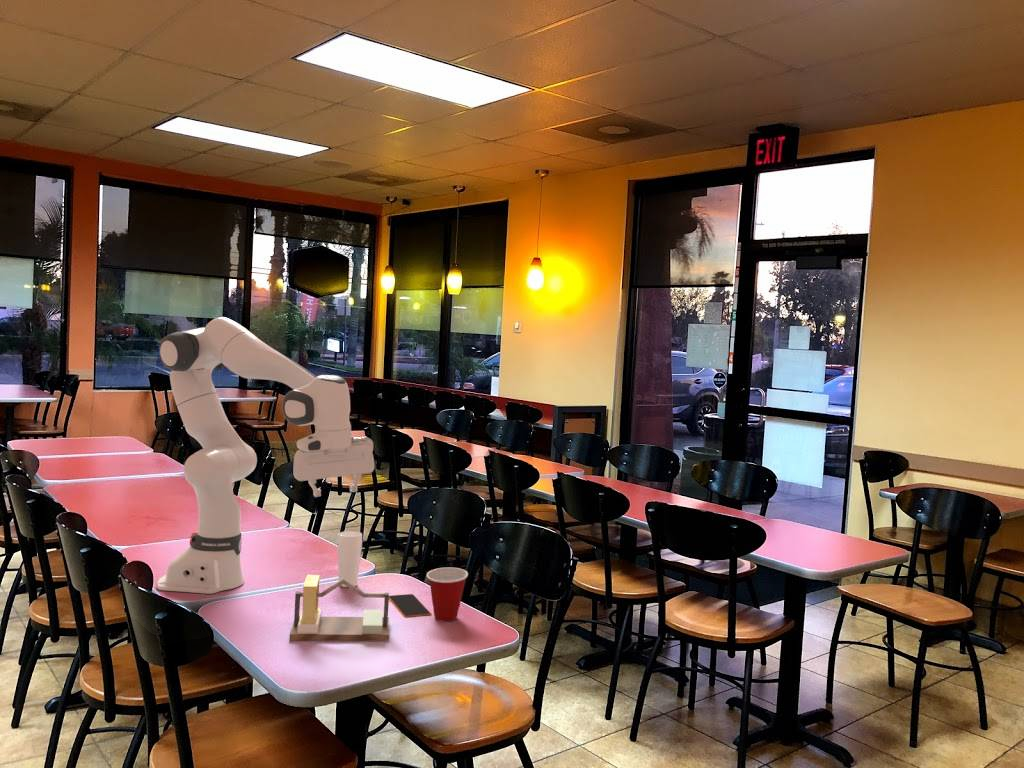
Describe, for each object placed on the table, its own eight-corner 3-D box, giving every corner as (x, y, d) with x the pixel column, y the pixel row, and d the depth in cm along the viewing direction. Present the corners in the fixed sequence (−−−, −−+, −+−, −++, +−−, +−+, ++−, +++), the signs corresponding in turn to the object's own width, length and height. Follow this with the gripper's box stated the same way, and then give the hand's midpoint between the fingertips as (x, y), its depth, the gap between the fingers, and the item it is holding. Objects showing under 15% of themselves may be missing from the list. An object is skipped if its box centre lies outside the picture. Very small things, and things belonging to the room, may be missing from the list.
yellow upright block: (300, 623, 192) (302, 586, 192) (304, 610, 201) (306, 574, 200) (315, 623, 193) (317, 586, 192) (318, 610, 201) (320, 575, 201)
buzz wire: (289, 640, 190) (291, 586, 190) (295, 622, 202) (297, 570, 202) (388, 640, 194) (391, 587, 193) (388, 622, 206) (391, 572, 205)
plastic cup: (416, 614, 213) (418, 569, 212) (451, 608, 220) (453, 564, 219) (437, 628, 204) (440, 581, 204) (473, 621, 211) (476, 575, 210)
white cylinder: (333, 582, 235) (335, 531, 234) (356, 580, 238) (359, 530, 237) (338, 589, 229) (341, 537, 228) (362, 588, 232) (365, 536, 231)
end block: (362, 633, 193) (362, 625, 193) (363, 617, 204) (363, 609, 204) (381, 633, 194) (382, 625, 194) (382, 617, 205) (382, 609, 205)
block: (297, 633, 191) (297, 625, 191) (302, 617, 202) (302, 609, 202) (317, 633, 192) (317, 625, 192) (321, 617, 203) (321, 609, 203)
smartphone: (404, 619, 210) (404, 615, 210) (387, 598, 226) (387, 595, 226) (432, 616, 214) (432, 613, 214) (413, 596, 229) (413, 593, 229)
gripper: (368, 434, 213) (370, 486, 214) (290, 442, 202) (292, 496, 204) (377, 437, 207) (379, 490, 208) (297, 445, 197) (299, 501, 198)
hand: (335, 493), depth 206 cm, fingers open, 8 cm apart
